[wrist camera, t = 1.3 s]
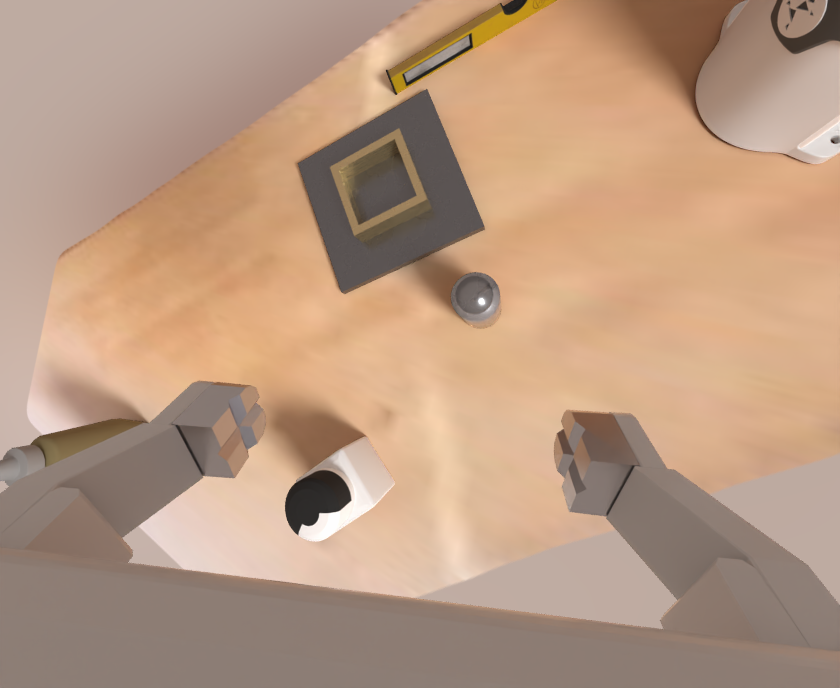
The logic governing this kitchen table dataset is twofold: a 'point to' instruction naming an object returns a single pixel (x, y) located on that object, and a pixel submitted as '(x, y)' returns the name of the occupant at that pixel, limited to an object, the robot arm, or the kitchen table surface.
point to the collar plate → (389, 194)
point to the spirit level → (462, 41)
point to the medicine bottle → (337, 491)
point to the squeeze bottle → (58, 447)
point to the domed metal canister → (476, 300)
